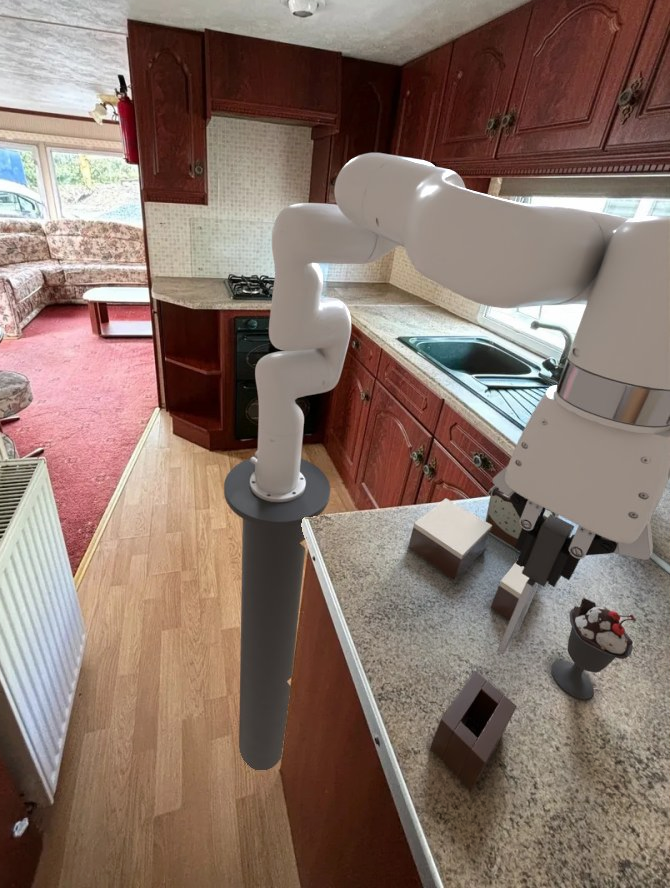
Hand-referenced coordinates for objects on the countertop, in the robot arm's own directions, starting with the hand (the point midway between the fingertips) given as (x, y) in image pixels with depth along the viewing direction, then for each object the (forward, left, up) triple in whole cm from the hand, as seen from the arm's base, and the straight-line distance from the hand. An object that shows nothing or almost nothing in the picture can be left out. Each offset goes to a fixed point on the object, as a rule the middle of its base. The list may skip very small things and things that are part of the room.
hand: (540, 566), depth 38 cm
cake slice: (-4, +23, -26) cm, 35 cm away
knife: (0, 0, -11) cm, 11 cm away
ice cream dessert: (-10, +37, -27) cm, 46 cm away
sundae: (+6, +16, -27) cm, 32 cm away
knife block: (0, -2, -26) cm, 26 cm away
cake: (-17, +23, -26) cm, 39 cm away
